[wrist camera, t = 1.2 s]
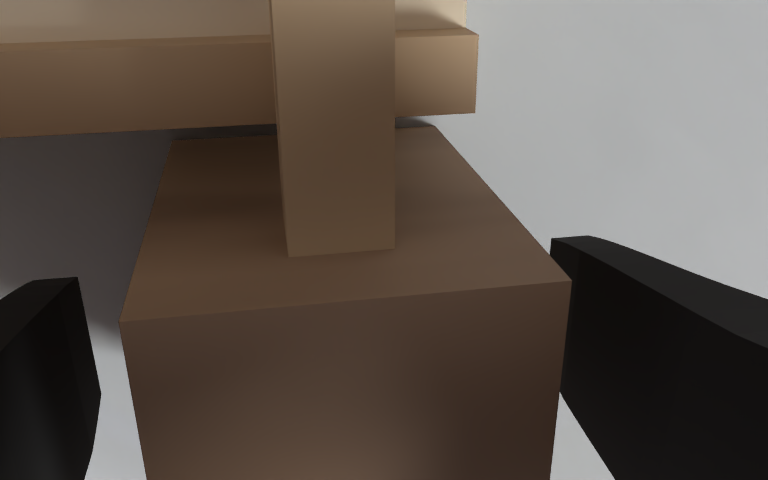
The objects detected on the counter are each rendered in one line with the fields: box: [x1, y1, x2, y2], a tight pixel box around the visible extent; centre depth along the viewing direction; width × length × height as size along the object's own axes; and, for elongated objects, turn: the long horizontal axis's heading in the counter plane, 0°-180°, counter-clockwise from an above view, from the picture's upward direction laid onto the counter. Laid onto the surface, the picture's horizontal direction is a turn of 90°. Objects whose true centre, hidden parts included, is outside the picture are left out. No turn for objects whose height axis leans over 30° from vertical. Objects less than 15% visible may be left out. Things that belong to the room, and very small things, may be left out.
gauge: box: [119, 0, 572, 480], centre depth 10 cm, size 9×4×6 cm, turn 0°
